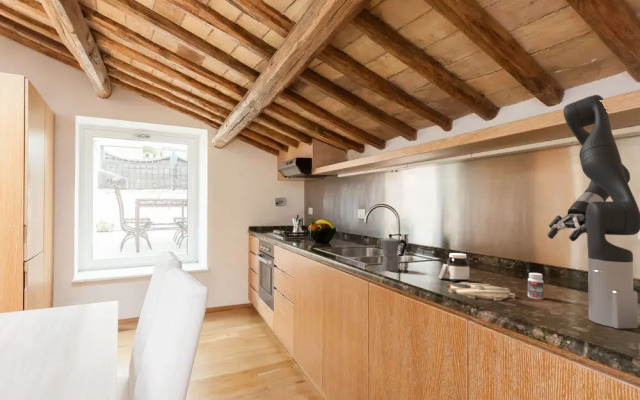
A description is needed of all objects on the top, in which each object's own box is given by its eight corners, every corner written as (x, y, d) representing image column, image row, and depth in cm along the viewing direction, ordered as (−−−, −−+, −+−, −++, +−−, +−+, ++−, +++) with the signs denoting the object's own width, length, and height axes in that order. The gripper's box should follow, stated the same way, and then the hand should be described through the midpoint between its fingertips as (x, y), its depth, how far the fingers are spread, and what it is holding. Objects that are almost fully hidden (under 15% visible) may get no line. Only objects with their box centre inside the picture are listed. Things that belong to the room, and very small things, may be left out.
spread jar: (472, 284, 135) (472, 255, 135) (444, 283, 135) (444, 255, 136) (460, 278, 147) (460, 252, 147) (435, 277, 147) (435, 251, 148)
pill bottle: (529, 298, 113) (529, 274, 114) (526, 295, 118) (526, 272, 118) (545, 300, 112) (545, 275, 112) (541, 296, 116) (541, 273, 116)
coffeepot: (374, 269, 165) (374, 233, 166) (382, 266, 173) (383, 232, 173) (402, 273, 156) (402, 235, 156) (410, 270, 163) (410, 234, 164)
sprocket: (530, 300, 111) (530, 294, 111) (466, 300, 109) (466, 294, 109) (489, 284, 134) (489, 280, 134) (436, 285, 132) (436, 280, 132)
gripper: (561, 200, 127) (537, 229, 125) (599, 199, 113) (572, 232, 111) (573, 214, 128) (548, 243, 126) (612, 214, 114) (585, 248, 112)
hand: (560, 238), depth 118 cm, fingers open, 8 cm apart
